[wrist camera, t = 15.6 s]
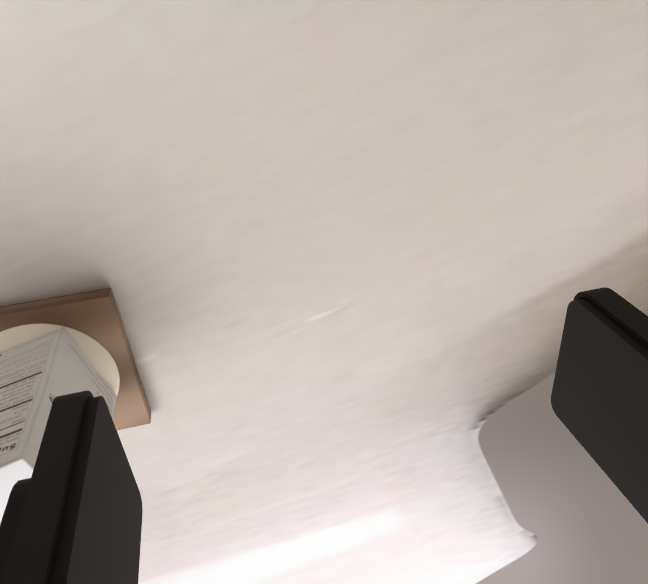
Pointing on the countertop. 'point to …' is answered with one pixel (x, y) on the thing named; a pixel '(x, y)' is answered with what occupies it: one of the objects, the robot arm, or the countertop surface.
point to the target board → (85, 343)
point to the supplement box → (38, 398)
